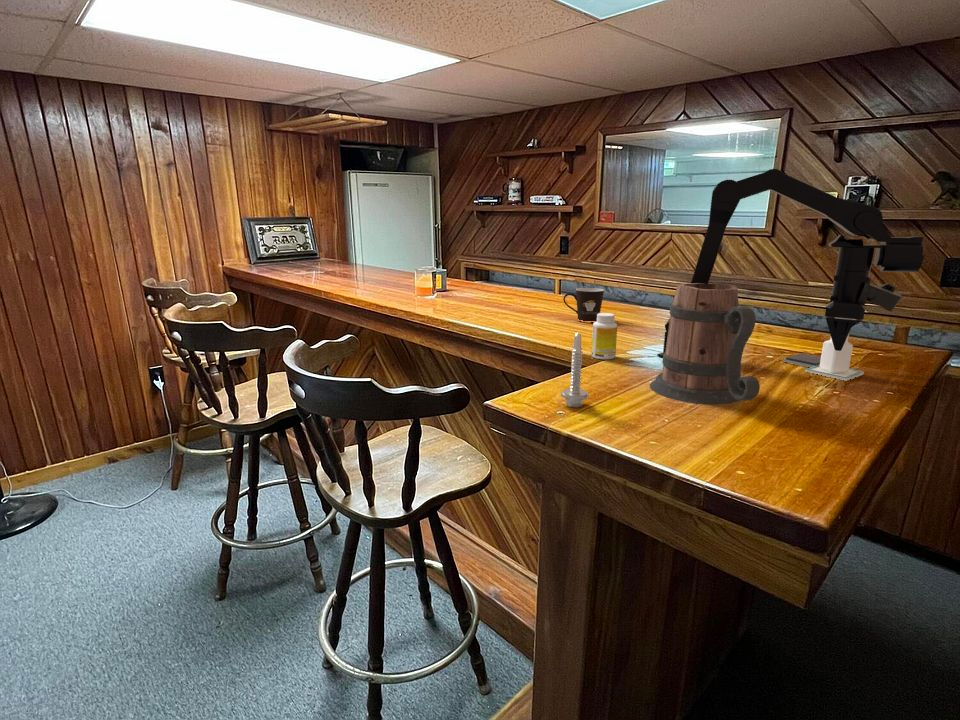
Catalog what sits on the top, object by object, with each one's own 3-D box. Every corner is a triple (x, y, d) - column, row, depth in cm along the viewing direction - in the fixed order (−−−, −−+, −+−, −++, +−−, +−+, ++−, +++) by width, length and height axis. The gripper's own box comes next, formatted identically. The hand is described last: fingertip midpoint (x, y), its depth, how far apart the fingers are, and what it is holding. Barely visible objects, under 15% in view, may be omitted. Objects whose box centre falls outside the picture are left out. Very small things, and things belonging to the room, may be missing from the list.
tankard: (633, 379, 108) (641, 281, 103) (707, 374, 112) (718, 278, 106) (704, 421, 86) (718, 298, 81) (793, 413, 89) (813, 295, 84)
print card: (846, 381, 107) (846, 377, 107) (804, 371, 113) (804, 368, 113) (863, 374, 111) (863, 371, 111) (821, 366, 118) (822, 363, 118)
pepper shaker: (849, 373, 111) (857, 328, 108) (832, 374, 110) (840, 329, 108) (834, 367, 114) (841, 324, 112) (817, 368, 114) (825, 325, 111)
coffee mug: (606, 320, 169) (607, 289, 167) (596, 324, 162) (598, 292, 160) (571, 316, 175) (573, 286, 173) (561, 321, 168) (562, 289, 166)
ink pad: (815, 369, 115) (816, 364, 115) (782, 362, 121) (783, 357, 120) (832, 363, 120) (833, 358, 119) (800, 357, 125) (800, 352, 125)
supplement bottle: (620, 359, 124) (623, 315, 121) (599, 361, 122) (602, 317, 119) (606, 353, 129) (609, 311, 126) (586, 355, 127) (588, 313, 124)
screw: (580, 399, 96) (593, 408, 92) (555, 401, 95) (567, 411, 91) (584, 329, 93) (597, 334, 88) (558, 330, 92) (571, 336, 87)
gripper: (905, 277, 95) (888, 361, 99) (901, 269, 110) (886, 342, 114) (831, 273, 101) (818, 353, 105) (836, 266, 116) (824, 336, 120)
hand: (839, 346), depth 111 cm, fingers open, 9 cm apart
